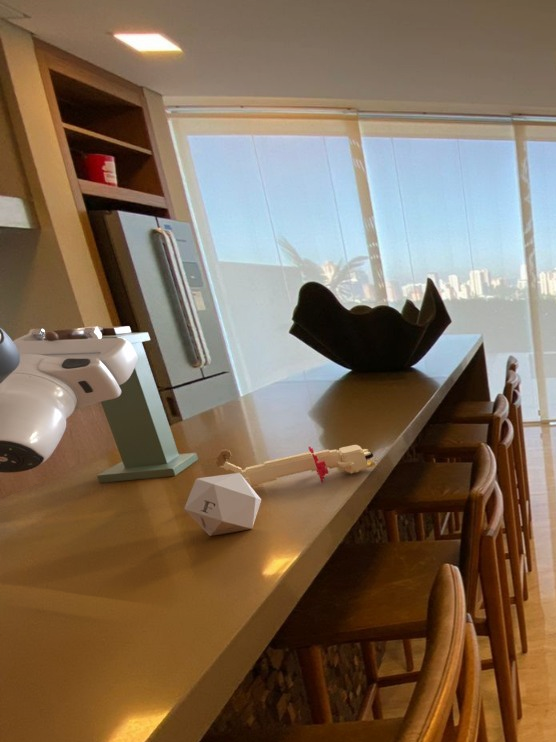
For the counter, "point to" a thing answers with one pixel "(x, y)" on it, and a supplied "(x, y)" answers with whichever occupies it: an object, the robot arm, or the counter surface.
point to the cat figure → (301, 464)
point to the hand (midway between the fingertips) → (67, 331)
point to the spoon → (78, 333)
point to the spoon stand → (141, 425)
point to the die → (223, 504)
